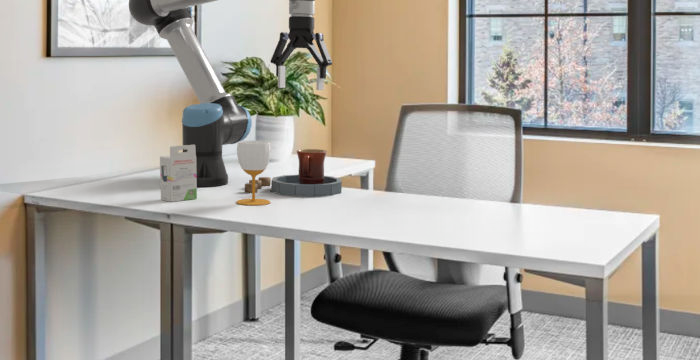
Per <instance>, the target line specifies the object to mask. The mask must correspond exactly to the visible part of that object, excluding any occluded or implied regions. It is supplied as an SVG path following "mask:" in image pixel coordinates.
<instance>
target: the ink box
mask: <svg viewBox="0 0 700 360" xmlns="http://www.w3.org/2000/svg"><path fill="white" fill-rule="evenodd" d="M183 149H184V150H186V149H187V152H183ZM180 151H182V152H180ZM159 167H160V168H159V174H160V176H159V177H160V179H159V180H160V181H159V182H160V184H159V185H160V200H161V201H165V202H169V203H175V202H182V201H190V200H196V199H198V197H197V196H198V194H197V192H198V191H197V190H198V189H197V188H198V186H197V178H196V176H197V174H196V150H195V145H183V144H182V145H174V146H173V145H172V146H170V147H169V155H167V156H166V155H165V156H161V155H160V156H159Z"/></svg>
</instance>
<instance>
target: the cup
mask: <svg viewBox="0 0 700 360" xmlns="http://www.w3.org/2000/svg"><path fill="white" fill-rule="evenodd" d="M271 153H272V147H271V142H269V141H265V140H242V141H239V142H237V146H236V154H237V160H238V163H239V166H240V168H241V169H242V170H243V172H245V173H246V174H247V175H249V176H250V177H251V180H252V193H251V198H244V199H237V200H236V202H235V203H236V204H238V205H241V206H256V207H257V206H265V205H269V204H271V201H270V200H269V199H262V198H256V193H255V180H256V177H257V176H259V175H260V174H262V173H264V171H266V169H267V168H268V165H269V163H270V160H271Z"/></svg>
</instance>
